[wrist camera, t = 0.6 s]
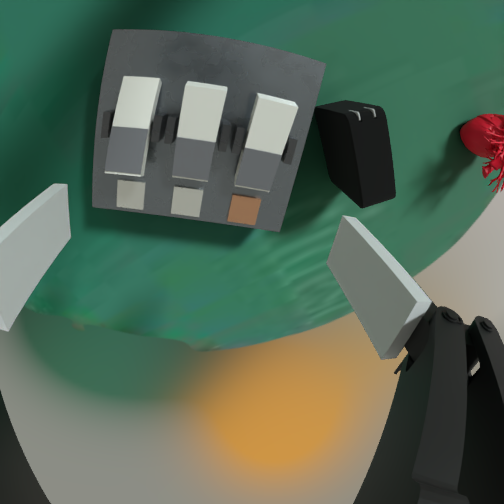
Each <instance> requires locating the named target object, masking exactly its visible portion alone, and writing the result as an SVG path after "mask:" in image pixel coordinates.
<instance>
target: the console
mask: <svg viewBox="0 0 504 504" xmlns="http://www.w3.org/2000/svg"><path fill="white" fill-rule="evenodd" d="M325 67H326V63H323V62H320V61H317V60H314V59H310V58H307V57H304V56H301V55H297V54H294V53H290V52H287V51H283V50H279V49H276V48H272V47H267V46H263V45H259V44H254V43H250V42H245V41H240V40H235V39H229V38H223V37H217V36H210V35H203V34H195V33H186V32H176V31H162V30H138V29H115V30H113V31H112V35H111V39H110V43H109V48H108V52H107V57H106V62H105V67H104V72H103V78H102V84H101V91H100V97H99V105H98V113H97V121H96V131H95V143H94V158H93V184H92V207H96V208H105V209H113V210H122V211H130V212H138V213H146V214H154V215H162V216H170V217H177V218H185V219H192V220H199V221H207V222H214V223H221V224H228V225H235V226H242V227H249V228H255V229H262V230H269V231H275V232H280V229H281V226H282V222H283V219H284V215H285V212H286V209H287V205H288V202H289V198H290V195H291V191H292V188H293V184H294V181H295V177H296V174H297V170H298V167H299V163H300V159H301V156H302V152H303V149H304V145H305V142H306V138H307V134H308V131H309V127H310V123H311V120H312V116H313V112H314V109H315V105H316V101H317V97H318V94H319V90H320V86H321V82H322V78H323V75H324V71H325ZM124 76H136V77H151V78H160V80H161V82H162V85H161V89H160V93H159V97H158V102H157V106H156V111H155V115H154V120H153V125H152V130H151V136H150V141H149V147H148V152H147V158H146V164H145V171H144V176H141V177H139V176H130V175H120V174H110V173H105V164H106V158H107V151H108V145H109V139H110V134H111V128H112V125H113V120H114V115H115V110H116V106H117V101H118V97H119V93H120V89H121V85H122V81H123V77H124ZM188 81H192V82H199V83H206V84H213V85H219V86H225V87H227V94H226V98H225V102H224V107H223V111H222V115H221V120H220V124H219V129H218V133H217V138H216V143H215V148H214V153H213V157H212V162H211V167H210V172H209V177H208V182H205V181H198V180H191V179H184V178H177V177H172V172H173V163H174V155H175V147H176V140H177V133H178V126H179V120H180V113H181V107H182V101H183V95H184V89H185V85H186V83H187V82H188ZM257 93H260V94H265V95H269V96H273V97H277V98H281V99H285V100H289V101H293V102H295V103H296V105H297V106H298V110H297V113H296V116H295V119H294V121H293V124H292V127H291V130H290V133H289V136H288V139H287V142H286V144H285V147H284V150H283V153H282V157H281V160H280V163H279V166H278V169H277V171H276V174H275V177H274V180H273V183H272V186H271V189H270V191H269V192H266V191H261V190H255V189H249V188H243V187H237V186H235V179H234V177H235V173H236V169H237V165H238V162H239V158H240V154H241V150H242V146H243V143H244V139H245V135H246V132H247V128H248V124H249V121H250V117H251V113H252V110H253V106H254V103H255V99H256V96H257Z"/></svg>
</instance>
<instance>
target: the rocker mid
mask: <svg viewBox="0 0 504 504" xmlns="http://www.w3.org/2000/svg"><path fill="white" fill-rule="evenodd" d="M226 94H227V87H225V86H219V85H213V84H206V83H199V82H192V81H188V82H187V83H186V85H185V89H184V95H183V101H182V107H181V113H180V120H179V126H178V133H177V140H176V147H175V155H174V163H173V172H172V177H177V178H184V179H191V180H198V181H205V182H208V177H209V172H210V167H211V162H212V157H213V153H214V148H215V143H216V138H217V133H218V129H219V124H220V120H221V115H222V111H223V107H224V102H225V98H226Z"/></svg>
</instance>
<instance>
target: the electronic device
mask: <svg viewBox="0 0 504 504" xmlns="http://www.w3.org/2000/svg"><path fill="white" fill-rule="evenodd" d="M314 113H315V117H316V121H317V125H318V129H319V133H320V137H321V141H322V145H323V150H324V154H325V158H326V163H327V168H328V172H329V176H330V179H331V181H332V182H333V183H334V184H335V185H336V186H337V187H338V188H339V189H340V190H342V191H343V192H344V193H345V194H346V195H347V196H348V197H349V198H350V199H352V200H353V201H354V202H355V203H356V204H357V205H358V206H359V207H360V208H365V207H368V206H371V205H374V204H378V203H381V202H384V201H387V200H390V199H393V198H395V196H396V190H395V179H394V169H393V160H392V152H391V145H390V138H389V131H388V125H387V119H386V115H385V112H384V110H383V109H382V108H381V107H380V106H375V105H370V104H365V103H359V102H353V101H347V100H344V101H339V102H335V103H330V104H325V105H321V106H317V107H315V109H314Z"/></svg>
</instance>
